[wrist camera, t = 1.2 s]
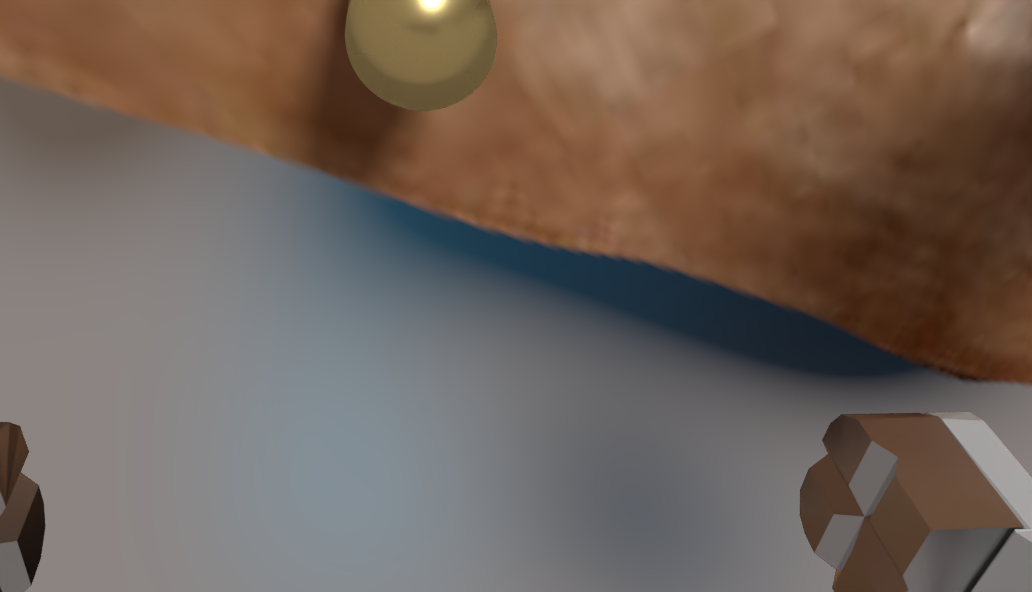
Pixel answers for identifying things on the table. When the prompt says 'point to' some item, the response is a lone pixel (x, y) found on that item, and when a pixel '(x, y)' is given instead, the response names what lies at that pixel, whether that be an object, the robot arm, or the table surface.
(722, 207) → the table surface
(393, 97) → the peg
